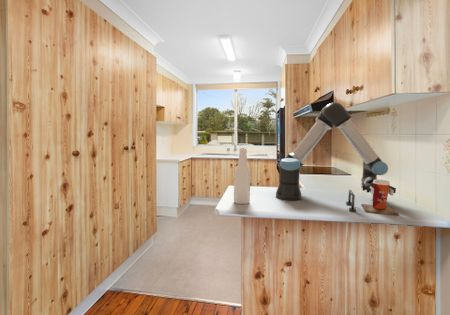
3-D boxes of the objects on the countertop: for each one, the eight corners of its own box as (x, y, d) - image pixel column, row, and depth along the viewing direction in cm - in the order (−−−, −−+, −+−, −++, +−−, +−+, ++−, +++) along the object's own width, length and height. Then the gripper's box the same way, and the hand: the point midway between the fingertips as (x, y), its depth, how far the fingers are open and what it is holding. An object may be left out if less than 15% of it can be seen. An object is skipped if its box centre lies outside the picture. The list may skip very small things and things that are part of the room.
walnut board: (365, 212, 125) (365, 210, 125) (361, 205, 138) (361, 203, 138) (398, 215, 121) (398, 213, 121) (390, 208, 133) (391, 206, 133)
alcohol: (249, 200, 143) (251, 148, 141) (249, 204, 134) (251, 148, 132) (234, 200, 144) (235, 147, 141) (233, 204, 135) (234, 148, 133)
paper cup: (380, 210, 124) (383, 182, 122) (366, 206, 131) (369, 179, 129) (391, 209, 127) (394, 181, 125) (377, 204, 134) (379, 178, 132)
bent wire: (349, 211, 126) (350, 194, 125) (345, 203, 141) (346, 188, 140) (356, 212, 125) (357, 195, 124) (351, 204, 140) (352, 189, 139)
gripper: (392, 192, 142) (406, 201, 121) (352, 189, 149) (358, 197, 128) (393, 179, 142) (407, 186, 120) (353, 176, 148) (359, 183, 127)
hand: (382, 192), depth 124 cm, fingers closed on paper cup, 8 cm apart
